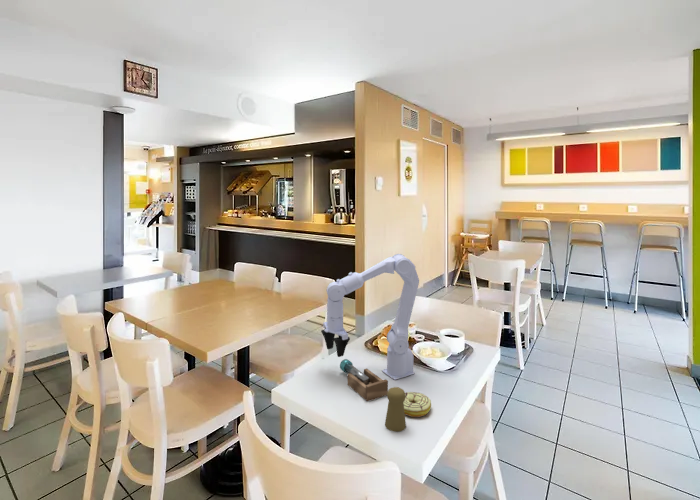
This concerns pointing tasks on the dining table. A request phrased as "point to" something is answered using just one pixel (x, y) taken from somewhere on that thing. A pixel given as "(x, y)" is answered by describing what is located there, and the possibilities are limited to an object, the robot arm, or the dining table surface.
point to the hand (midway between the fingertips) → (335, 352)
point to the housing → (368, 386)
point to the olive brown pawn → (395, 410)
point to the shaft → (353, 371)
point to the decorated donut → (416, 404)
